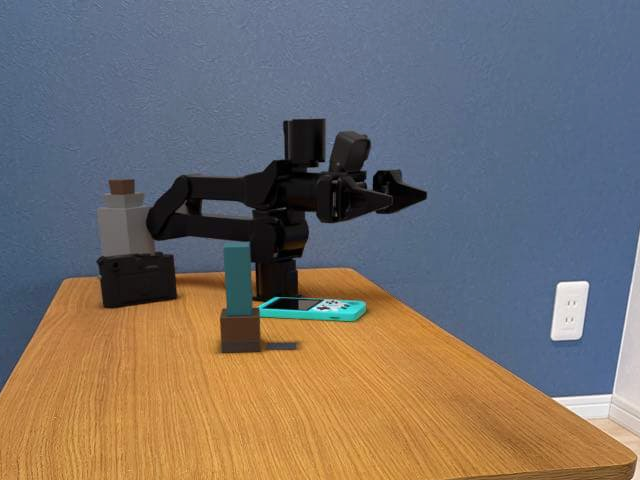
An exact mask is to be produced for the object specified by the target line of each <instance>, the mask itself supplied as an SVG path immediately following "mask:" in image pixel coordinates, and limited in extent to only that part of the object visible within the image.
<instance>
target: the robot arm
mask: <svg viewBox="0 0 640 480" xmlns="http://www.w3.org/2000/svg"><path fill="white" fill-rule="evenodd" d="M282 132H283V144H284V145H283V150H284V151H283V152H284V158H282V159H281V158H280V159H272V161H271V162H270V163H269V164H268V165H267V166H266V167H265V168H264V169H263V170H262V171H257V172H254V173H253V172H252V173H249V174H244V175H243V176H240V175H239V176H238V175H209V174H208V175H207V174H201V173H186V174H180V175H179V176H177V177H176V178H175V180H174V181H173V183H172V185H171V186H170V188H168V189H167V190H166V191H165V192H164V193H163V194H162V195H161V196H159V198H157V200H155V202H154V204H153V205H152V206H151V208H150V209H149V212H148V215H147V219H146V227H147V229H148V231H149V233H150V234H151V237H152V238H153V239H154V241H156V242H161V241H169V240H175V239H182V238H188V237H193V238H200V239H201V238H203V239H211V240H221V241H222V240H223V241H228V242H250V256H251V264H254V269H255V271H254V272H255V294H252V300H256V301H257V300H258V301H266V302H267V301H269V300H271V299H273V298H275V297H285V298H303V293H301V292H299V270H298V269H297V260H296V259H301V258H303V254H304V251H305V247H306V244H307V243H308V241H309V238H310V237H309V236H310V226H309V224H308V221H307V219H306V213H314V214H315V216H316V218H317V219H318V220H319V222H320V223H321V224H338V223H344V222H350V221H353V220H355V219H358V218H360V217H363V216H366V215H369V214H371V213H374V212H375V214H376V215H391V214H392V215H393V214H397V213H400V212H401V211H403V210H405V209H408V208H409V207H412V206H414V205H417V204H419V203H421V202H424V201H426V200H427V199H428V191H427V190H424V189H422V188H419V187H417V186H414V185H411V184H408V183H406V182H405V181H403V172H402V170H401V169H397V168H388V169H378V170H377V171H376V172H375V173H374V174H373V176H372V188H371V189H368V184H367V182H366V180H367V172H368V170H362V169H363V167H364V164H365V161H368V158H369V155H370V152H371V149H372V140H371V139H370V138H368V135H367V134H365V133H364V134H363V133H362V134H361V133H358V132H356V131H354V130H343V131H342V130H341V131H339V132H338V133H337V134H336V135H335V138H334V141H333V145H332V149H331V153H330V156H329V162H328V163H329V165H328V169H327V170H323V171H320V172H315V171H308V169H310V168H311V169H314V168H320V163H326V159H327V118H321V117H320V118H319V117H318V118H292V119H291V120H289V119H287V120H283V121H282ZM203 201H224V202H238V203H241V204H243V205H244V206H245V207H247V208H251V213H252V216H244V215H232V214H219V213H207V212H202V211H203V209H202V208H203Z"/></svg>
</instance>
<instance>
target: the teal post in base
mask: <svg viewBox="0 0 640 480" xmlns="http://www.w3.org/2000/svg"><path fill="white" fill-rule="evenodd" d="M222 248H223V249H222V250H223V263H224V264H223V265H224V267H223V268H224V283H225V302H226V308H225V307H222V309H221V312H220V316H219V327H220V344H221V345H220V346H221V353H223V354H224V353H225V354H226V353H258V352H259V353H260V352H261V346H262V344H261V343H262V337H261V335H262V333H261V332H262V331H261V317H260V308H259V307H258V306H257V307H258V308H257V307H253V305H254V304H253V299H252V295H253V285H252V284H253V283H252V282H253V281H252V262H251V256H250V242H239V241H227V242H224V245H223V247H222Z"/></svg>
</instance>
